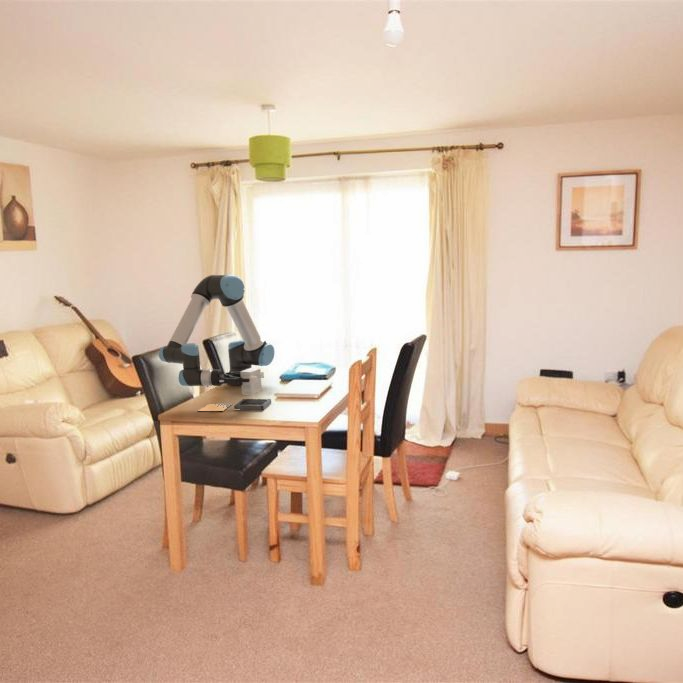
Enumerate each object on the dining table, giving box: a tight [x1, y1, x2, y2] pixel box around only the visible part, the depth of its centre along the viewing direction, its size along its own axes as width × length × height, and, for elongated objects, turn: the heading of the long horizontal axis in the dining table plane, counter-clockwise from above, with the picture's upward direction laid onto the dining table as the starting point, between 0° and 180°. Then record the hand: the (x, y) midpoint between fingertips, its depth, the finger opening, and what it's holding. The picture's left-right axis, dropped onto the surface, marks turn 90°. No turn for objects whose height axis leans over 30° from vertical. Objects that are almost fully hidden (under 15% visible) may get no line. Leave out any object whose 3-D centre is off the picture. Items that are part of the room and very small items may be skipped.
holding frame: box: [233, 398, 272, 411], centre depth 260 cm, size 12×13×2 cm
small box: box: [240, 367, 263, 396], centre depth 259 cm, size 8×6×10 cm
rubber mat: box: [215, 402, 232, 408], centre depth 260 cm, size 12×12×1 cm
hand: (260, 377), depth 257 cm, fingers closed on small box, 9 cm apart
